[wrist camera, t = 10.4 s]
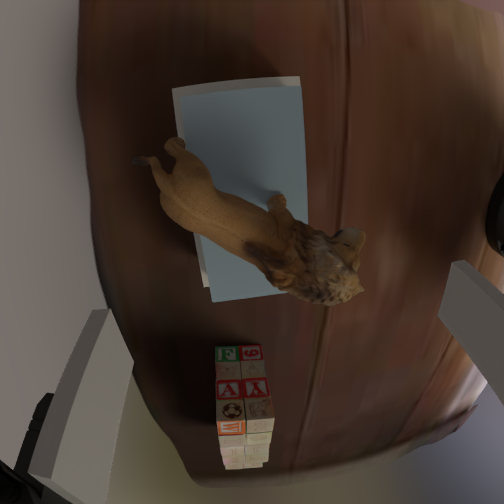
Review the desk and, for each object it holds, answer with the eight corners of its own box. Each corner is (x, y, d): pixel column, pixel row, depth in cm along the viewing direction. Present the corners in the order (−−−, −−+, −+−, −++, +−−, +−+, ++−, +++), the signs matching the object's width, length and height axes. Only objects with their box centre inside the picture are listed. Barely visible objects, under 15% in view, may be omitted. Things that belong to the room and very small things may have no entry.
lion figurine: (338, 201, 22) (398, 258, 14) (306, 260, 24) (345, 337, 16) (146, 124, 18) (97, 140, 10) (123, 195, 20) (73, 253, 12)
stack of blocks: (256, 424, 50) (264, 482, 39) (221, 426, 49) (225, 485, 38) (261, 342, 40) (275, 419, 29) (214, 345, 40) (216, 423, 29)
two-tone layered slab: (286, 80, 26) (314, 71, 18) (296, 249, 34) (319, 297, 26) (179, 91, 25) (162, 85, 17) (205, 261, 34) (202, 313, 26)
